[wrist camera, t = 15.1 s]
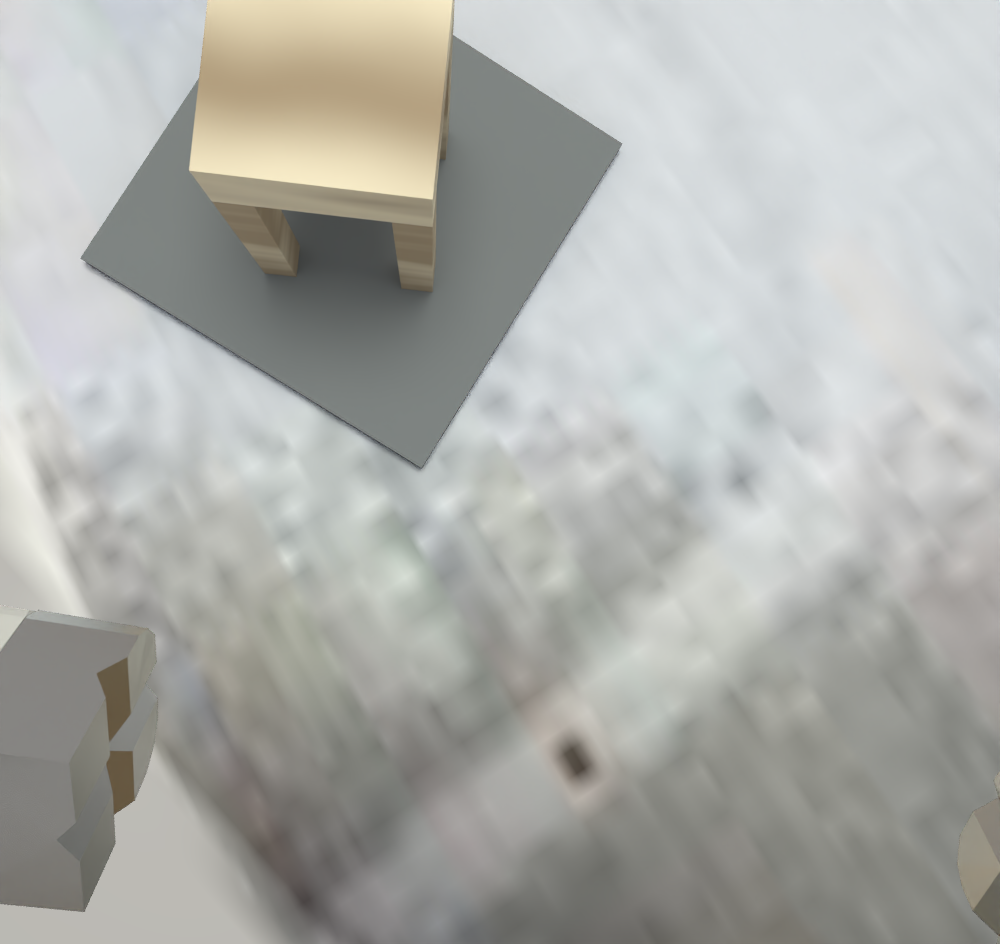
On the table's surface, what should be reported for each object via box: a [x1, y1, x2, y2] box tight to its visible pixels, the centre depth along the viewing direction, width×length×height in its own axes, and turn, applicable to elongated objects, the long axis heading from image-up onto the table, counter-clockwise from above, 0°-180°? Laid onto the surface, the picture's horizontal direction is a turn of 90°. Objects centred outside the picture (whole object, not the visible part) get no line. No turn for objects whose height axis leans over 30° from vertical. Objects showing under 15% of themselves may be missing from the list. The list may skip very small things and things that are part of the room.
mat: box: [81, 36, 622, 468], centre depth 36 cm, size 15×15×1 cm
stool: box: [189, 0, 454, 292], centre depth 30 cm, size 6×6×11 cm
